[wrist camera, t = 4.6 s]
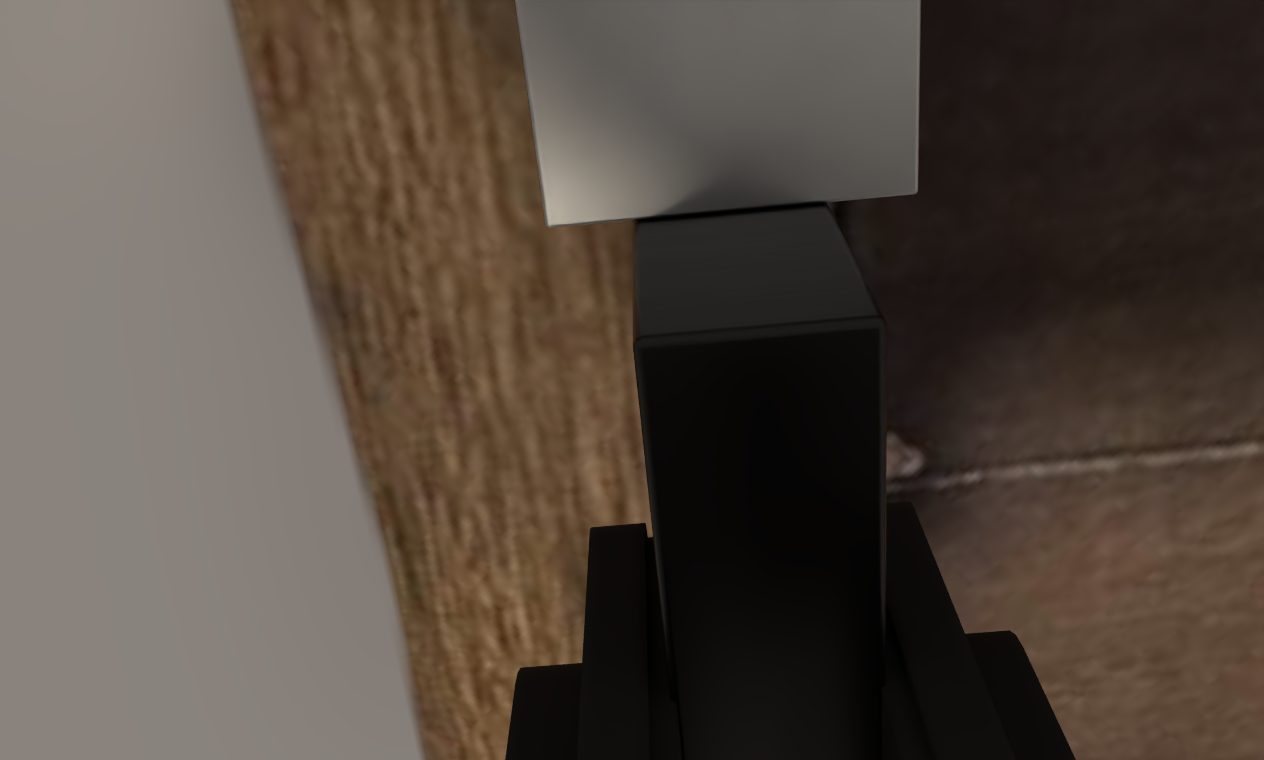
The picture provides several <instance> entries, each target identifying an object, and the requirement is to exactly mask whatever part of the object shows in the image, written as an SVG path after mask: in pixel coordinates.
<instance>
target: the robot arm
mask: <svg viewBox="0 0 1264 760" xmlns="http://www.w3.org/2000/svg"><path fill="white" fill-rule="evenodd" d="M505 760H682V753H681V743H680V733H679V723H678V714H677V704H676V702H673V701H672V699H671V698H670V692H669V682H668V673H667V663H666V654H665V644H664V635H663V625H662V616H661V606H660V597H659V587H658V578H657V569H656V559H655V550H654V540H653V537H649V538H648V537H647V529H646V524H645V523H640V524H627V525H615V526H603V527H591V529H590V537H589V555H588V573H587V590H586V608H585V625H584V643H583V660H582V663H577V664H563V665H550V666H537V667H524V668H520V670H519V671H518V674H517V679H516V684H515V691H514V698H513V706H512V713H511V721H510V728H509V736H508V743H507V751H506V759H505ZM881 760H1076V759H1075V757H1074V755H1073V753H1072V751H1071V749H1070V746H1069V744H1068V742H1067V740H1066V738H1065V736H1064V734H1063V731H1062V729H1061V727H1060V725H1059V723H1058V721H1057V719H1056V716H1055V714H1054V712H1053V710H1052V708H1051V706H1050V704H1049V702H1048V699H1047V697H1046V695H1045V693H1044V691H1043V689H1042V687H1041V684H1040V682H1039V680H1038V678H1037V676H1036V674H1035V672H1034V669H1033V667H1032V665H1031V663H1030V661H1029V659H1028V657H1027V654H1026V652H1025V650H1024V648H1023V646H1022V644H1021V643H1020V641H1019V639H1018V638H1017V636H1016V635H1015V634H1014V633H1012V632H1011V631H997V632H984V633H970V634H965V633H964V630H963V628H962V625H961V623H960V620H959V618H958V615H957V613H956V610H955V608H954V605H953V603H952V601H951V598H950V596H949V593H948V591H947V588H946V586H945V583H944V581H943V578H942V576H941V573H940V571H939V568H938V566H937V563H936V561H935V559H934V556H933V554H932V551H931V549H930V546H929V544H928V541H927V539H926V536H925V534H924V531H923V529H922V526H921V524H920V521H919V519H918V517H917V514H916V512H915V509H914V507H913V505H912V503H910V502H898V503H886V682H885V685H884V686H883V687H882V738H881Z"/></svg>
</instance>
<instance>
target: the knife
mask: <svg viewBox="0 0 1264 760" xmlns="http://www.w3.org/2000/svg"><path fill="white" fill-rule="evenodd" d="M515 6H516V14H517V21H518V28H519V36H520V43H521V50H522V58H523V65H524V73H525V80H526V87H527V95H528V102H529V109H530V117H531V124H532V131H533V139H534V146H535V153H536V161H537V168H538V175H539V183H540V190H541V197H542V205H543V212H544V220H545V225H546V226H547V227H548V228H555V227H566V226H577V225H588V224H599V223H609V222H620V221H631V220H633V351H634V360H635V370H636V379H637V389H638V398H639V408H640V417H641V426H642V436H643V445H644V455H645V464H646V474H647V483H648V493H649V502H650V512H651V521H652V531H653V540H654V550H655V559H656V569H657V578H658V587H659V597H660V606H661V616H662V625H663V635H664V644H665V654H666V663H667V673H668V682H669V692H670V698H671V699H672V701H673V702H676V704H677V714H678V723H679V733H680V743H681V753H682V760H881V738H882V687H883V686H884V685H885V682H886V430H887V323H886V321H885V319H884V317H883V315H882V313H881V311H880V309H879V307H878V305H877V303H876V301H875V299H874V297H873V295H872V293H871V291H870V288H869V286H868V284H867V282H866V280H865V278H864V276H863V274H862V272H861V270H860V268H859V266H858V264H857V262H856V260H855V258H854V256H853V254H852V252H851V250H850V248H849V246H848V244H847V242H846V240H845V238H844V236H843V234H842V232H841V230H840V228H839V226H838V224H837V222H836V220H835V218H834V216H833V214H832V212H831V210H830V208H829V206H828V204H827V202H836V201H847V200H858V199H869V198H880V197H890V196H901V195H912V194H916V193H917V191H918V173H919V108H920V43H921V0H515Z"/></svg>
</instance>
